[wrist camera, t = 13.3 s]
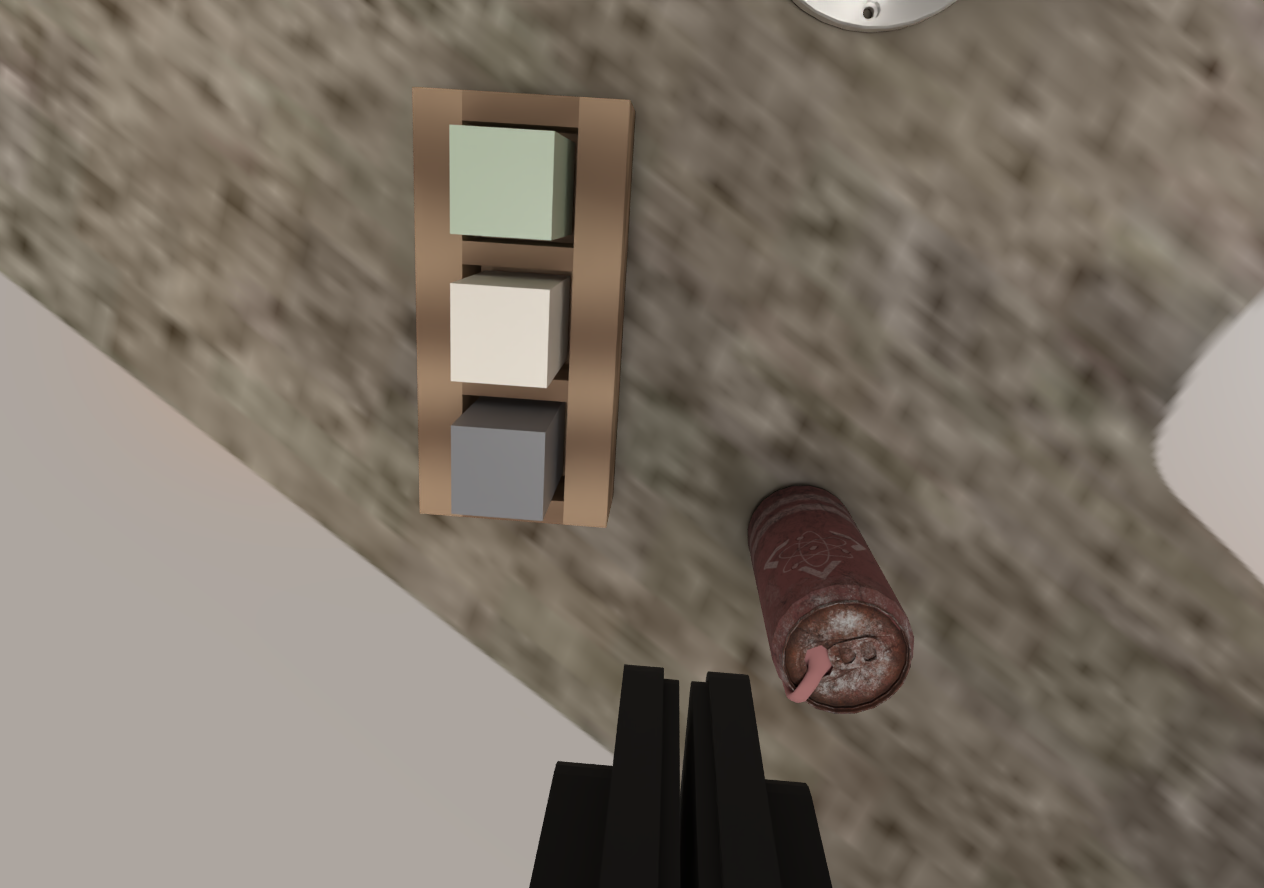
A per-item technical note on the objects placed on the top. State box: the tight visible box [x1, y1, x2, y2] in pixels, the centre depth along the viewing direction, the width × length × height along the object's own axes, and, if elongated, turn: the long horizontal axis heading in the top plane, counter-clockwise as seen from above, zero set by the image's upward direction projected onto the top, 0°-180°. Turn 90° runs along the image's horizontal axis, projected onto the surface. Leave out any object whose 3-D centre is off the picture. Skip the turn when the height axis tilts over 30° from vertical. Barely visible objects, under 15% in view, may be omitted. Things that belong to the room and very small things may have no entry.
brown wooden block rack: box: [412, 87, 635, 528], centre depth 42 cm, size 21×10×5 cm, turn 177°
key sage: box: [449, 125, 575, 240], centre depth 37 cm, size 4×4×7 cm
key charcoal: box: [451, 396, 565, 521], centre depth 41 cm, size 4×4×7 cm
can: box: [748, 486, 914, 714], centre depth 41 cm, size 6×6×14 cm
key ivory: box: [450, 270, 570, 388], centre depth 39 cm, size 4×4×7 cm
